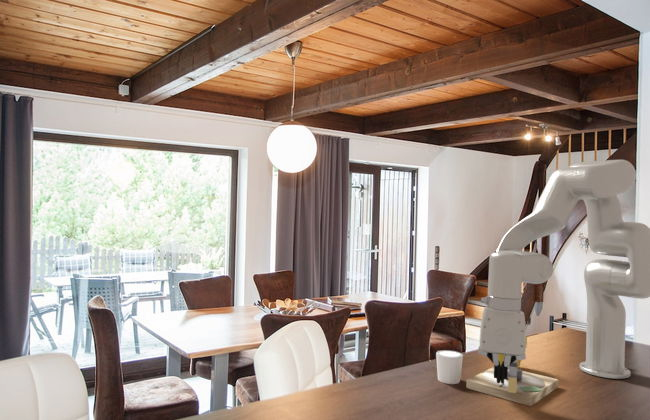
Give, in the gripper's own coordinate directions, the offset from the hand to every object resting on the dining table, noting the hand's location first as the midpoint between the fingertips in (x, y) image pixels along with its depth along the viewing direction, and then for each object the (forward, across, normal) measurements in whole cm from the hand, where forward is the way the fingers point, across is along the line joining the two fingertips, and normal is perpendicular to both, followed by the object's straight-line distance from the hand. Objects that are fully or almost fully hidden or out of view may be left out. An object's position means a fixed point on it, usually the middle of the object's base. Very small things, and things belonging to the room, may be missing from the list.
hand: (500, 381), depth 119 cm
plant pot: (+4, +3, +26) cm, 27 cm away
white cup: (+4, -12, +9) cm, 16 cm away
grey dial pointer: (+1, +3, +6) cm, 7 cm away
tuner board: (+4, +4, +9) cm, 11 cm away
